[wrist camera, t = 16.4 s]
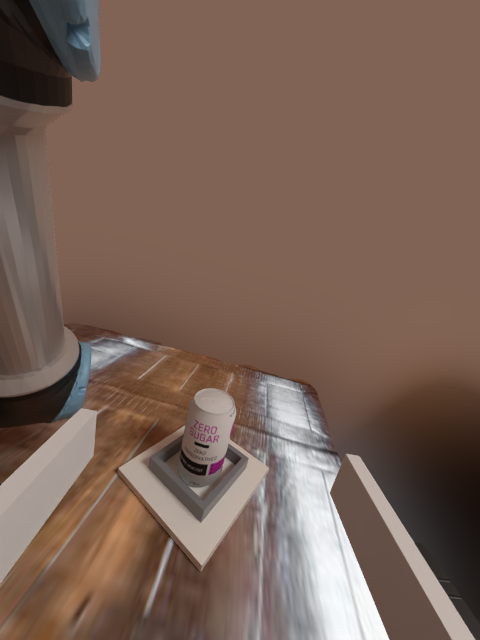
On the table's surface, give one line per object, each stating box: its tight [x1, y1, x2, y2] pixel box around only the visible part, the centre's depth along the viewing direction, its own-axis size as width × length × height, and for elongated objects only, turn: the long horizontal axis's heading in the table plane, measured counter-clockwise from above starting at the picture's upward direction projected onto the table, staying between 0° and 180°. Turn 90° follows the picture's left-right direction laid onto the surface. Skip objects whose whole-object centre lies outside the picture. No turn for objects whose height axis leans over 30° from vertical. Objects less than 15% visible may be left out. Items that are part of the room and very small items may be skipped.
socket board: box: [118, 426, 269, 572], centre depth 43 cm, size 20×20×4 cm
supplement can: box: [178, 388, 236, 487], centre depth 41 cm, size 8×8×15 cm
